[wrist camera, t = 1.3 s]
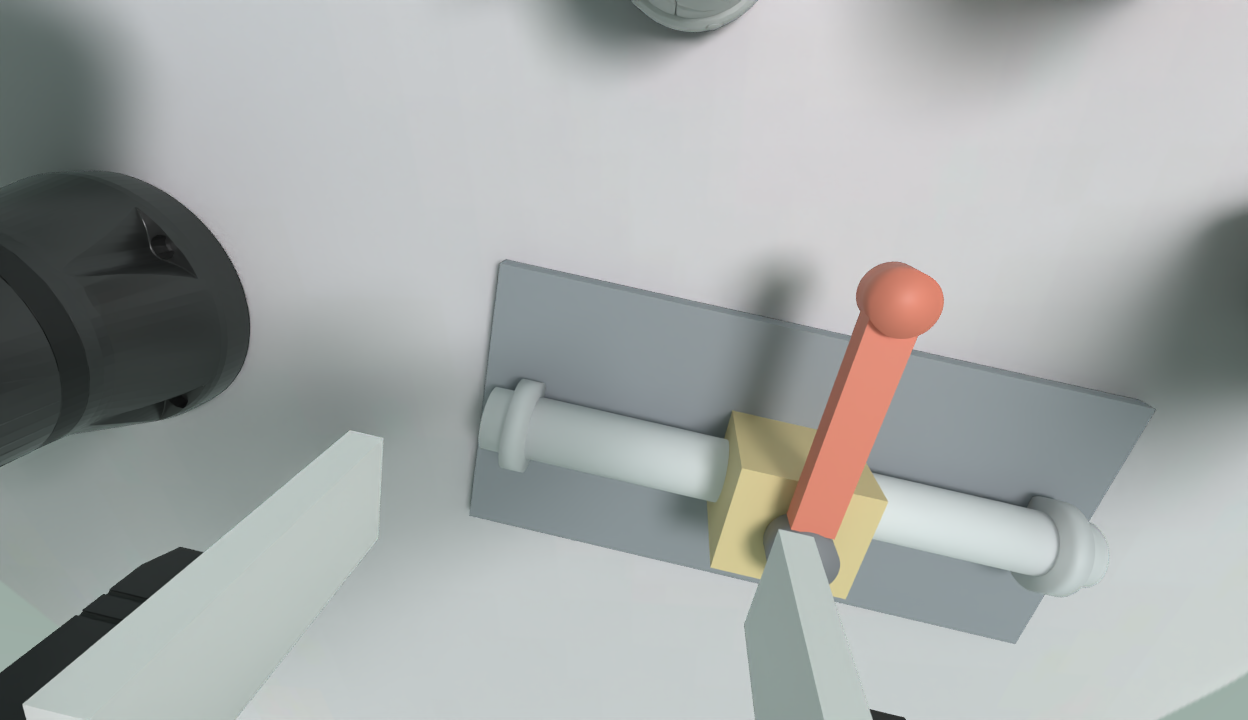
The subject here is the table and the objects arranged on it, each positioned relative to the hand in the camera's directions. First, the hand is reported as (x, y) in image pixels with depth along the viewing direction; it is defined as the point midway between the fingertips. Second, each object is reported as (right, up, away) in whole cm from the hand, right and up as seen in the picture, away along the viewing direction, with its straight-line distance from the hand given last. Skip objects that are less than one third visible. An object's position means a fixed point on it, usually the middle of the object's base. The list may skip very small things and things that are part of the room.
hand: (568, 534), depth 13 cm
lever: (+11, +1, +13) cm, 17 cm away
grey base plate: (+10, -2, +23) cm, 25 cm away
